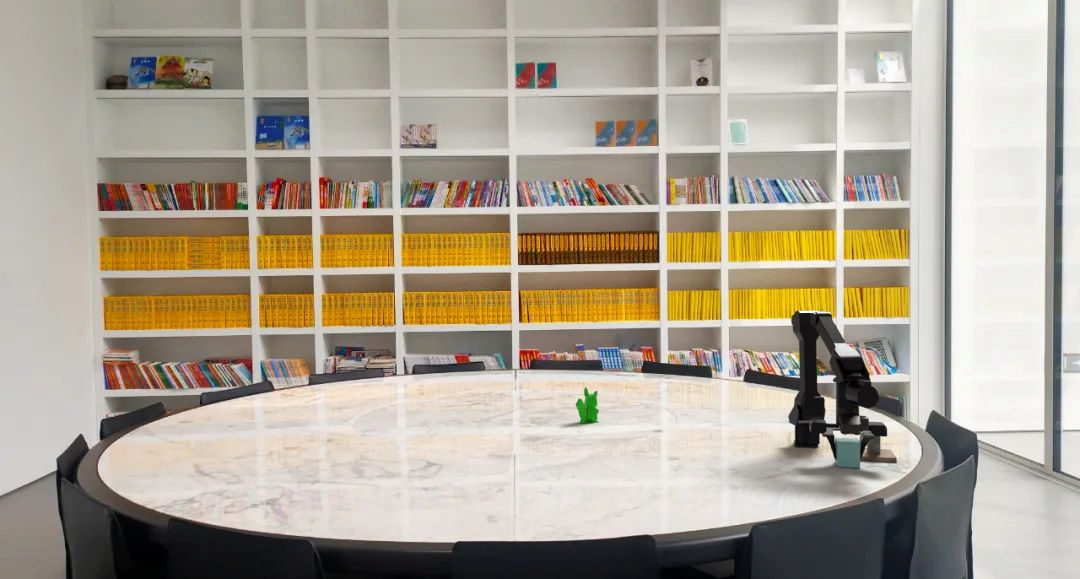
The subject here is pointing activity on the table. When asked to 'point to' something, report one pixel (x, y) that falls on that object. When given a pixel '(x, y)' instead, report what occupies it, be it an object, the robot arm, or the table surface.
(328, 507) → the table surface
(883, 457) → the post board
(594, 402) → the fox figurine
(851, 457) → the teal block
